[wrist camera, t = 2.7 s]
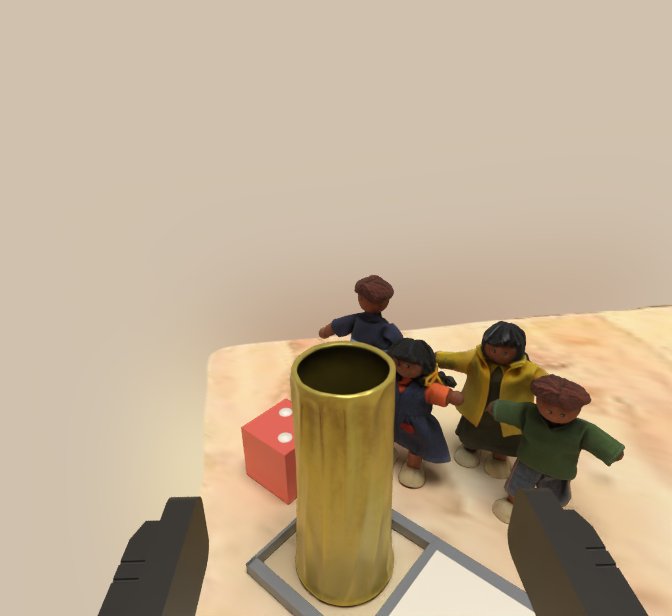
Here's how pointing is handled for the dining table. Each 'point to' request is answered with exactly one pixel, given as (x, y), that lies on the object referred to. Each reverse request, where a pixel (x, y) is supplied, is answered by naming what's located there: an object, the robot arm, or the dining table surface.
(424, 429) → the doll family
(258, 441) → the red die
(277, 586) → the game board
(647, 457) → the dining table surface
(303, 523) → the vase
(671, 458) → the dining table surface
